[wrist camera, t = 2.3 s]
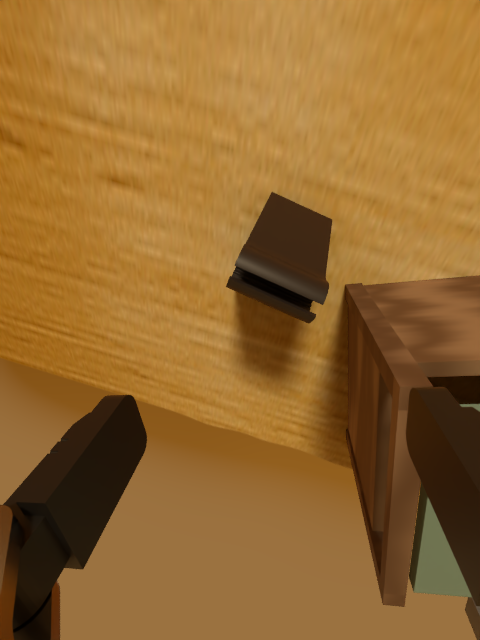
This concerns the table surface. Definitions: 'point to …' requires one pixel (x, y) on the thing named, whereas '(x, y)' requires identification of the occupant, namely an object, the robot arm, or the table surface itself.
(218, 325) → the table surface
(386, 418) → the wooden crate
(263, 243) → the phone stand
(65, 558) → the robot arm
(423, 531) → the trapdoor
